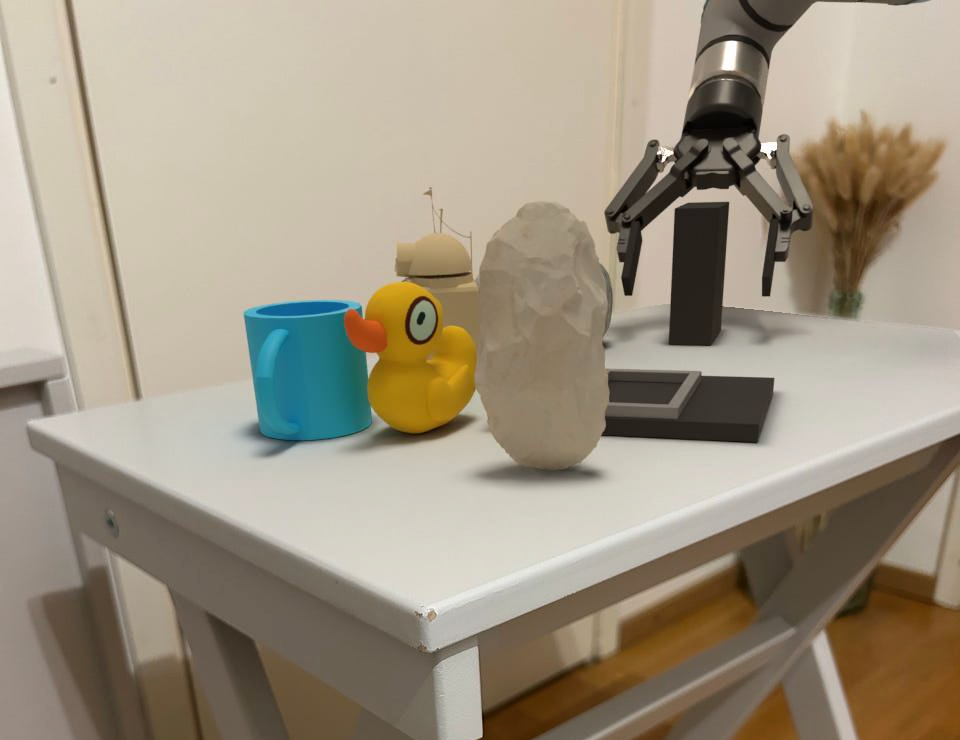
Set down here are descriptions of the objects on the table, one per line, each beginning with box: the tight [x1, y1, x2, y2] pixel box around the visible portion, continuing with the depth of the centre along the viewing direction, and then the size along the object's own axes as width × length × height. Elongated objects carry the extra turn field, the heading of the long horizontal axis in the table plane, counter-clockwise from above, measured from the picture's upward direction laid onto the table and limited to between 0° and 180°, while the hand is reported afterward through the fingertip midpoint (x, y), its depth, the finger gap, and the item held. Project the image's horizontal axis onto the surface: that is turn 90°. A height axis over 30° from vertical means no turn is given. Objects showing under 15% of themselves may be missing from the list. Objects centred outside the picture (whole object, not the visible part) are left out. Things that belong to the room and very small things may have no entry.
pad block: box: [668, 201, 730, 346], centre depth 95 cm, size 4×8×12 cm, turn 161°
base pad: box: [601, 368, 775, 443], centre depth 72 cm, size 18×14×2 cm
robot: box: [394, 186, 481, 361], centre depth 82 cm, size 10×8×15 cm
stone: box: [474, 200, 610, 471], centre depth 57 cm, size 8×5×15 cm
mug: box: [243, 299, 373, 441], centre depth 69 cm, size 12×8×8 cm
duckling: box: [344, 281, 477, 434], centre depth 68 cm, size 11×5×10 cm, turn 140°
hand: (694, 287), depth 93 cm, fingers open, 12 cm apart
